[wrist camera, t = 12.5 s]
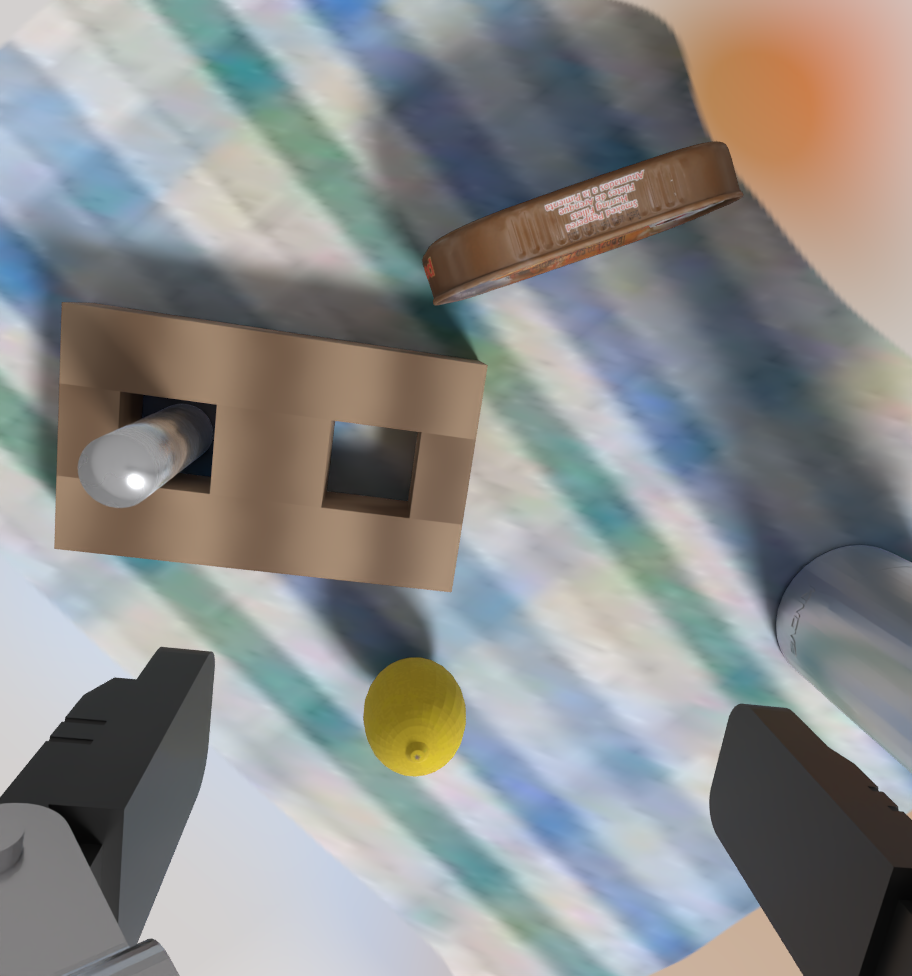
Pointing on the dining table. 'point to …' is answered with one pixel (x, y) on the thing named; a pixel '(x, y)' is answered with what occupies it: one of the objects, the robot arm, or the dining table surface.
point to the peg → (143, 455)
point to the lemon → (414, 716)
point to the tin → (581, 221)
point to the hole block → (267, 447)
